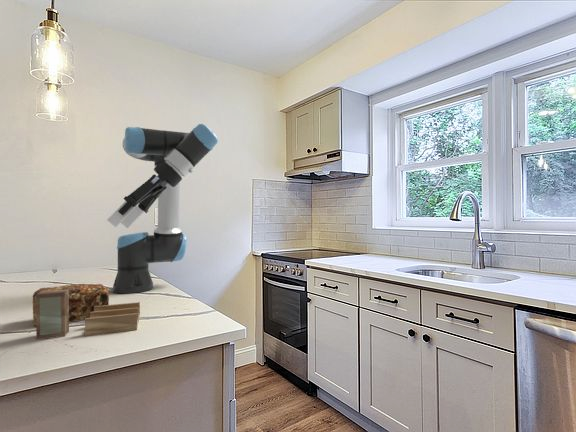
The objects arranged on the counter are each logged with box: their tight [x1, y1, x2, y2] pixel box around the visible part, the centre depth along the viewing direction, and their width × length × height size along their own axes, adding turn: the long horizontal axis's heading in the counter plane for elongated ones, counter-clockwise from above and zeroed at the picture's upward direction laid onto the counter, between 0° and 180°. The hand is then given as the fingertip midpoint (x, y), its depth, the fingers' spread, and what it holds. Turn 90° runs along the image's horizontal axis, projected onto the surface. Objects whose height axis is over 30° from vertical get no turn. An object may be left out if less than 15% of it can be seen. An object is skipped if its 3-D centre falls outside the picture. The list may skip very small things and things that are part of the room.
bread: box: [32, 283, 110, 327], centre depth 102 cm, size 19×11×10 cm, turn 123°
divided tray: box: [84, 301, 141, 337], centre depth 95 cm, size 15×12×4 cm
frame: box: [35, 289, 70, 340], centre depth 87 cm, size 4×6×11 cm
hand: (118, 224), depth 93 cm, fingers open, 13 cm apart
